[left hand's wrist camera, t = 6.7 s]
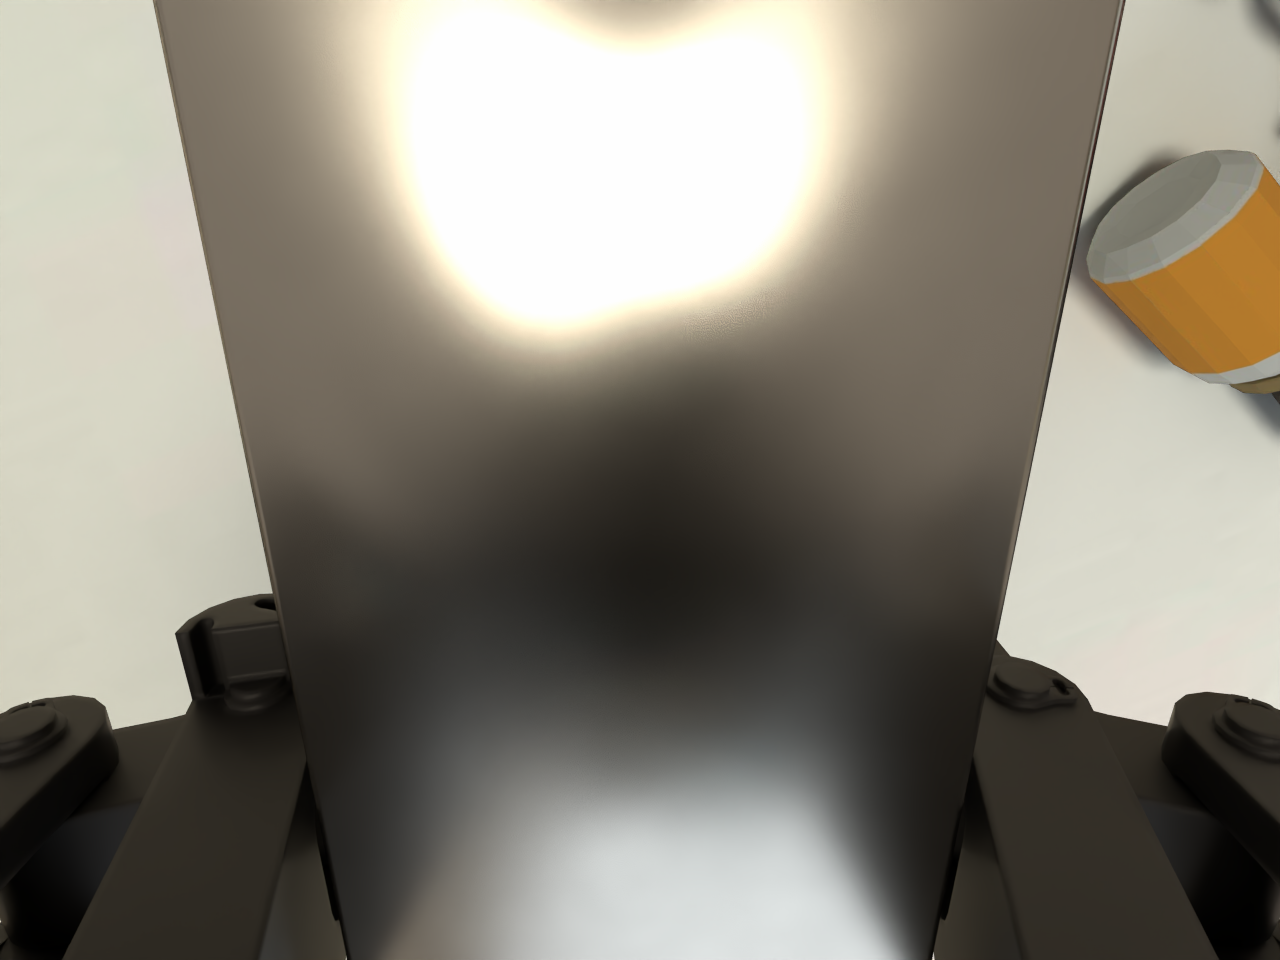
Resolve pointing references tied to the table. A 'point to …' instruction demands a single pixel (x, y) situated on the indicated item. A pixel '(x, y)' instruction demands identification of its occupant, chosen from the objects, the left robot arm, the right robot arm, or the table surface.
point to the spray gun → (1200, 266)
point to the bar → (639, 440)
